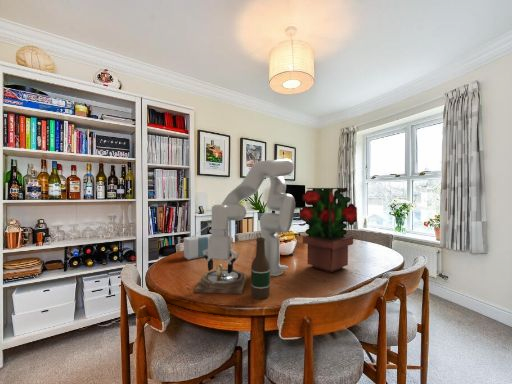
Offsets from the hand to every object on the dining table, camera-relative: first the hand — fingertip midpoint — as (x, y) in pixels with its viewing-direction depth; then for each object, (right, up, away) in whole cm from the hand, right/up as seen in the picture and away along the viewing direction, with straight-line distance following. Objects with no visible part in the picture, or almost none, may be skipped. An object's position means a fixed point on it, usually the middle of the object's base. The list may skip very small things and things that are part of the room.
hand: (220, 271), depth 108 cm
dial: (+1, -6, +6) cm, 8 cm away
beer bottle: (+18, -8, -7) cm, 21 cm away
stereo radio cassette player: (-21, -7, +51) cm, 56 cm away
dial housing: (+1, -8, +6) cm, 10 cm away
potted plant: (+56, -8, +29) cm, 64 cm away
